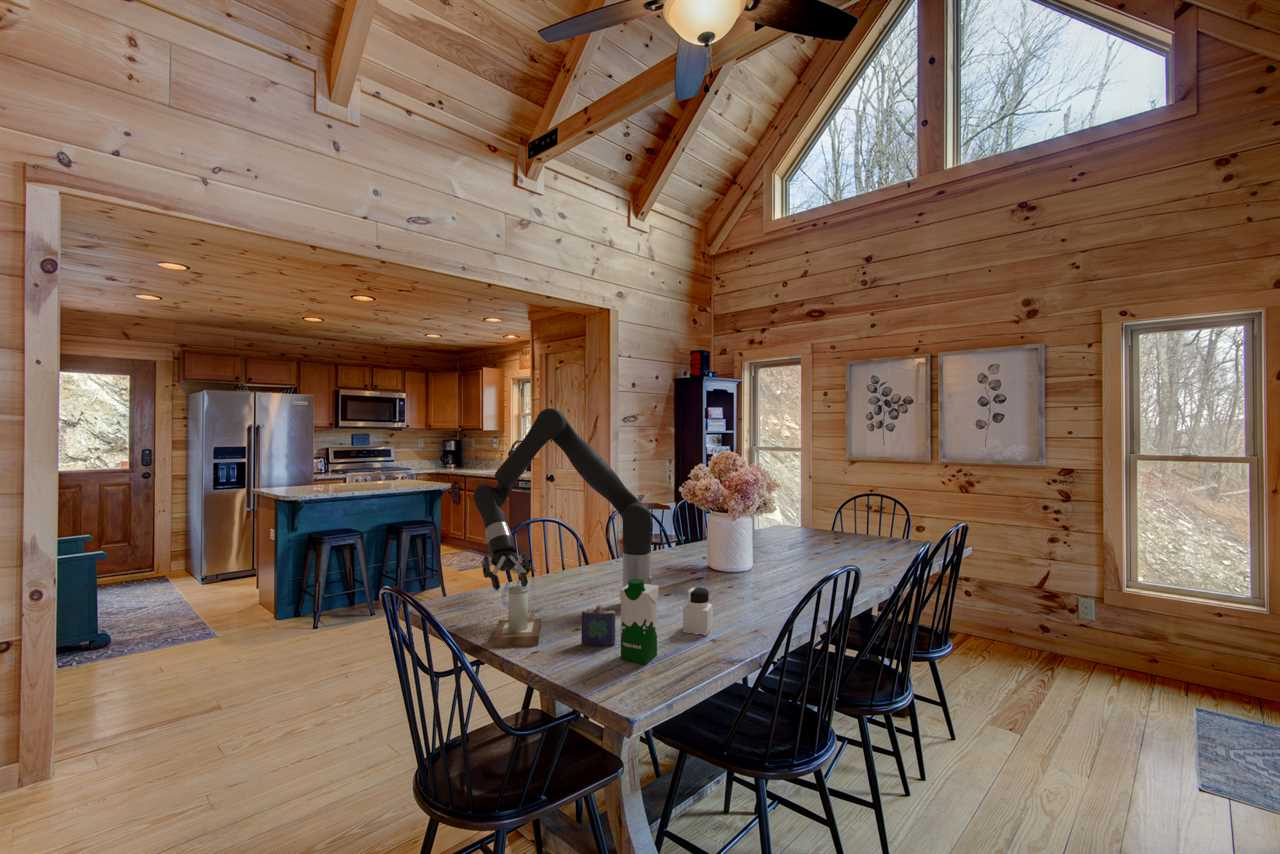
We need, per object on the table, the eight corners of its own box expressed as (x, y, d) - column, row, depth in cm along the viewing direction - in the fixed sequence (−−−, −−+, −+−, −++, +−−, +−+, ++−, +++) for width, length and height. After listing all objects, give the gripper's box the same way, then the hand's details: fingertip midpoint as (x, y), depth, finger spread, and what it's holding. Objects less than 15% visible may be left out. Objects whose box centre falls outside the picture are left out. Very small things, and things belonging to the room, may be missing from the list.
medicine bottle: (712, 627, 173) (712, 586, 173) (707, 636, 166) (707, 593, 166) (688, 625, 175) (689, 584, 175) (682, 633, 168) (682, 591, 168)
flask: (615, 643, 161) (615, 603, 160) (614, 647, 158) (615, 607, 157) (582, 642, 161) (582, 603, 161) (580, 646, 158) (580, 606, 158)
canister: (528, 624, 167) (528, 585, 167) (527, 631, 162) (527, 591, 161) (509, 625, 166) (509, 586, 166) (506, 632, 161) (507, 591, 161)
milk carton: (615, 661, 148) (616, 581, 148) (631, 648, 156) (631, 573, 156) (647, 667, 145) (648, 585, 144) (662, 654, 153) (662, 577, 153)
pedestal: (541, 627, 172) (541, 618, 172) (538, 645, 158) (538, 635, 158) (499, 628, 171) (499, 619, 171) (492, 646, 157) (492, 637, 157)
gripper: (482, 534, 177) (493, 583, 168) (525, 533, 186) (538, 579, 177) (473, 547, 181) (484, 596, 172) (516, 545, 190) (528, 591, 181)
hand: (511, 587), depth 175 cm, fingers open, 8 cm apart
